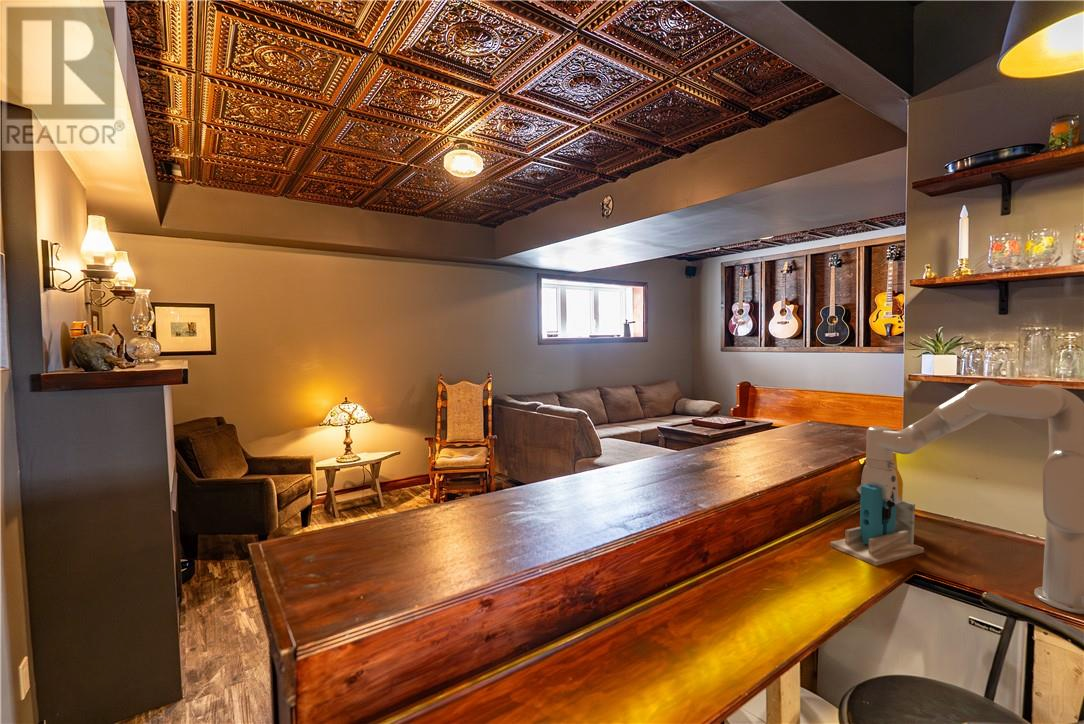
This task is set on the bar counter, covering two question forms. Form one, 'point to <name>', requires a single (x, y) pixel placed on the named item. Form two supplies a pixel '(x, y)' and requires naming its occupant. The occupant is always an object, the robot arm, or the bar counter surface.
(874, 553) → the book stand
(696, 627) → the bar counter surface
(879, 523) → the block
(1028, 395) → the robot arm
